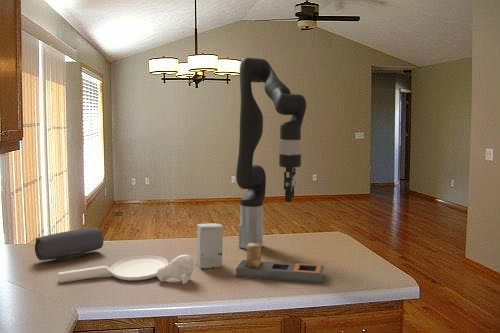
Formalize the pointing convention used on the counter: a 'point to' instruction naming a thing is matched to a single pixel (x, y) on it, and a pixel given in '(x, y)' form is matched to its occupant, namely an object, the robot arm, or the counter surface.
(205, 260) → the skincare box
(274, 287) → the counter surface
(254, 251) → the oak peg
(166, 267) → the white animal figurine
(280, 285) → the counter surface
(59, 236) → the bluetooth speaker
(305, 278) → the graphite rail
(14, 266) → the counter surface
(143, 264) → the frying pan
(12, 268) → the counter surface
